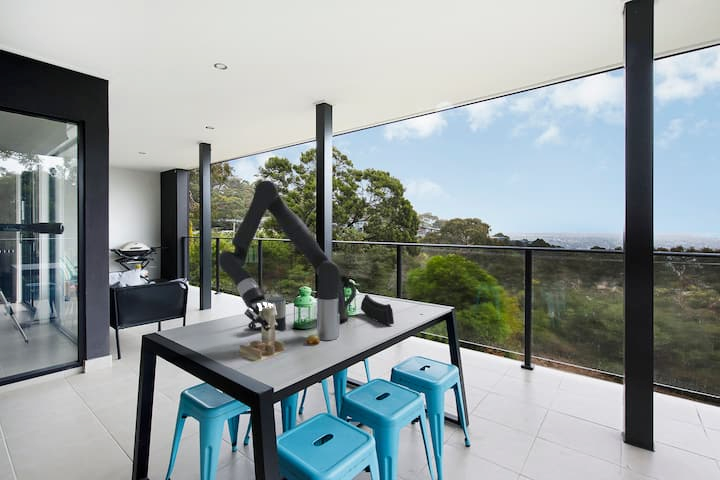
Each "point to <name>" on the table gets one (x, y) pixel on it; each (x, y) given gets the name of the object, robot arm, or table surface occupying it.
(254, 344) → the offcut stack
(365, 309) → the magazine
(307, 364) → the table surface
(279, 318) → the milk frother
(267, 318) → the tall birch block
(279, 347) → the pine rack
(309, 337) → the hamburger
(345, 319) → the beer stein
